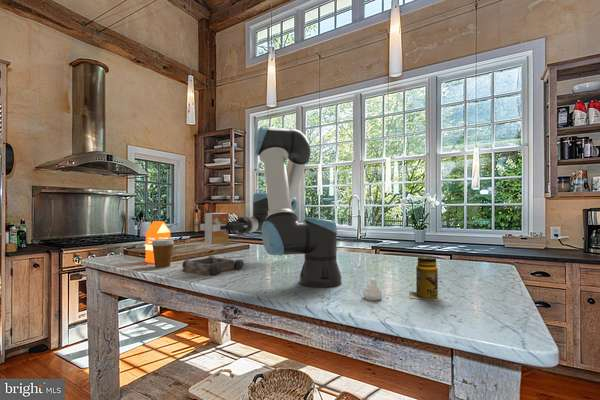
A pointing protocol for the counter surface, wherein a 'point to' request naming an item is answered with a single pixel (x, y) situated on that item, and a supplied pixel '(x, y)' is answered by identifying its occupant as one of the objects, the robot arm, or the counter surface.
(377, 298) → the garlic bulb
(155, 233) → the orange juice
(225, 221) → the small box
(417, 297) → the condiment
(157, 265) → the disposable coffee cup
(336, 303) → the counter surface
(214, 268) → the dark square tray
